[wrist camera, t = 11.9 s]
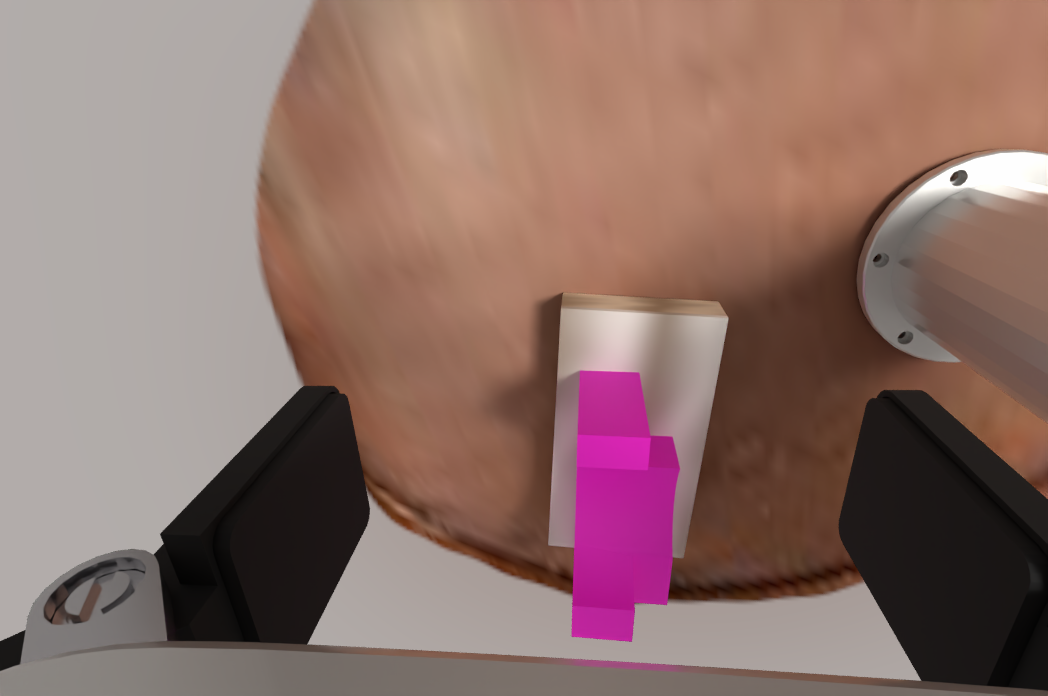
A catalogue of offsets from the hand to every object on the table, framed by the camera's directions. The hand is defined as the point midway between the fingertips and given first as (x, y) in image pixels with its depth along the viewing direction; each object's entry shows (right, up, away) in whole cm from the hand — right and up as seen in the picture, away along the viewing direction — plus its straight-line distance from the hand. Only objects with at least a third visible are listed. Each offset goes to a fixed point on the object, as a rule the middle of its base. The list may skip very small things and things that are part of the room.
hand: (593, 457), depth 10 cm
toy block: (+6, -6, +28) cm, 30 cm away
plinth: (+6, -3, +30) cm, 31 cm away
